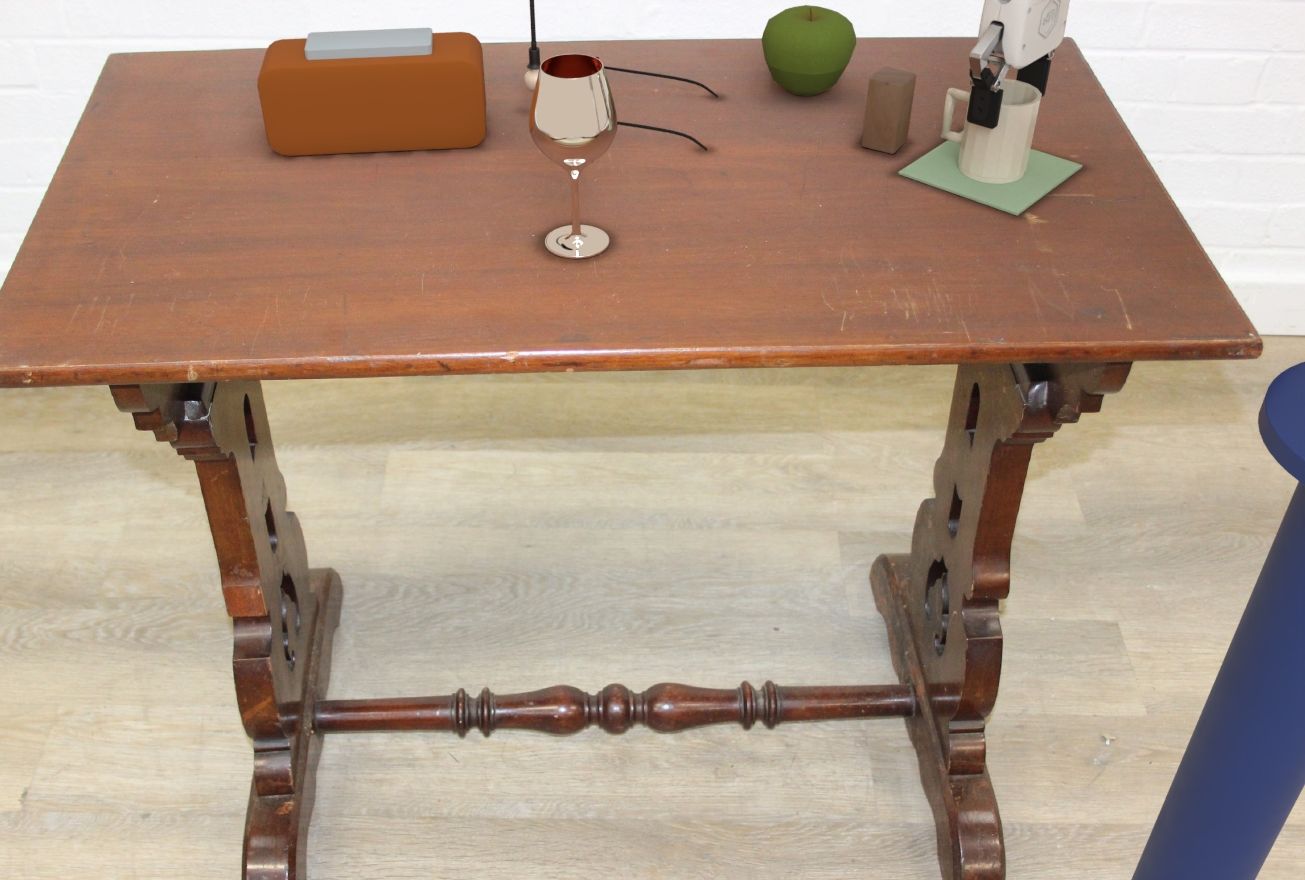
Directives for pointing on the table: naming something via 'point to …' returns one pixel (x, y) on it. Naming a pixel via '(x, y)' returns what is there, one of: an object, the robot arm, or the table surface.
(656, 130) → the glasses
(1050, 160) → the mat
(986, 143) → the mug
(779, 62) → the apple
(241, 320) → the table surface
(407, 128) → the alarm clock
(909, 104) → the wooden block
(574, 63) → the wineglass
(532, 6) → the light fixture
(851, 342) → the table surface
